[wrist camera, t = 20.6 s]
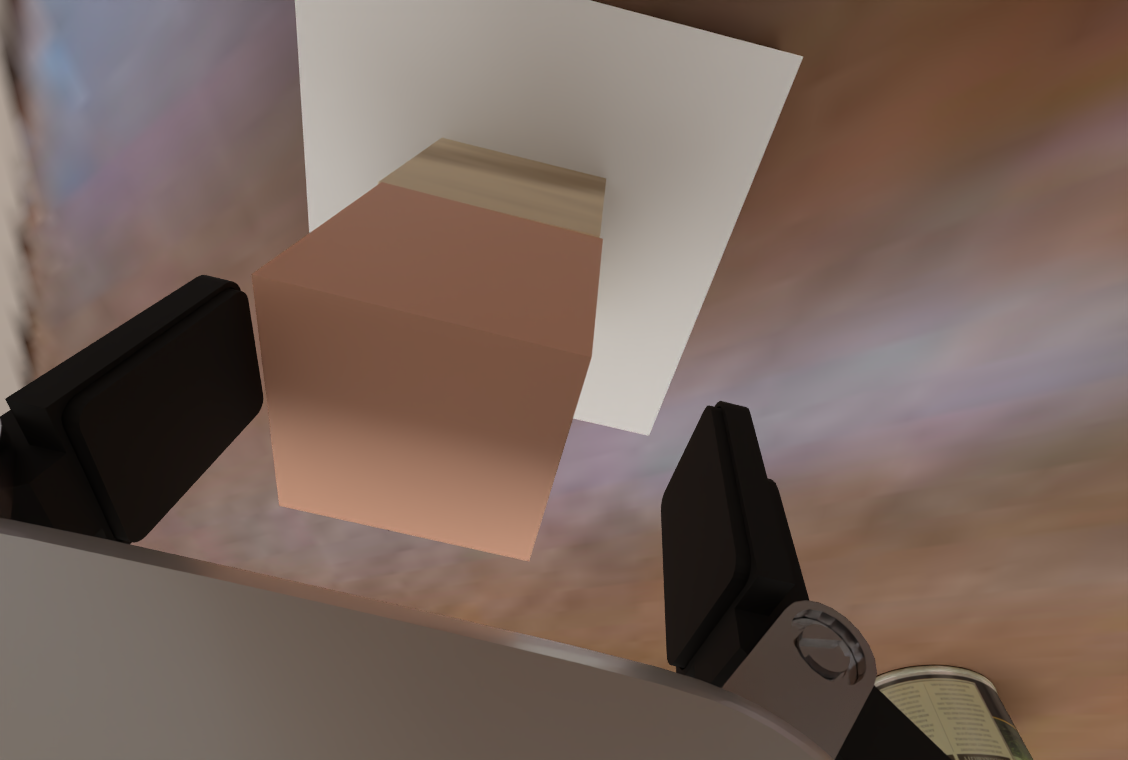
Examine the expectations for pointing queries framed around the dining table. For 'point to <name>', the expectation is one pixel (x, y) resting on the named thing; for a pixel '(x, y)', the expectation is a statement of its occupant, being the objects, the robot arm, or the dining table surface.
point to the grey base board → (559, 141)
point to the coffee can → (955, 711)
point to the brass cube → (506, 185)
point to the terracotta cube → (426, 366)
